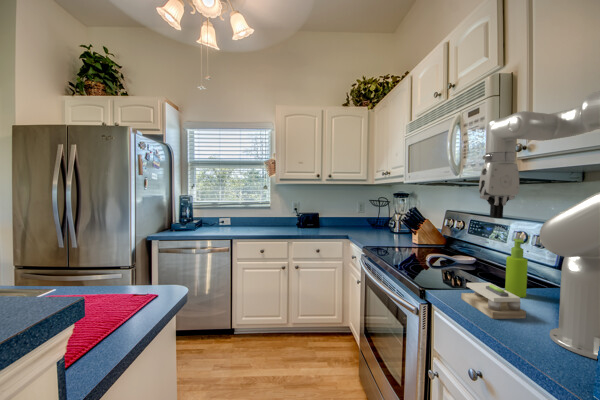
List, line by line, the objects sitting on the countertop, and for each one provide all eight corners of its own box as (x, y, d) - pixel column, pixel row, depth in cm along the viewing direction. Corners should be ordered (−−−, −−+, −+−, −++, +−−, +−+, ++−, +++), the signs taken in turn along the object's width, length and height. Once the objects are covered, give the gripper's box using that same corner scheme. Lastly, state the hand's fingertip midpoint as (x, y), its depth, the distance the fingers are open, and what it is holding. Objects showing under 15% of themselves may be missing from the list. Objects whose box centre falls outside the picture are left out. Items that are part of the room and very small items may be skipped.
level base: (525, 318, 78) (526, 303, 78) (492, 318, 78) (493, 303, 78) (489, 298, 92) (490, 285, 92) (461, 298, 92) (461, 286, 91)
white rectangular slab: (520, 301, 79) (520, 292, 79) (493, 301, 79) (494, 292, 78) (489, 286, 91) (489, 277, 91) (466, 286, 91) (466, 278, 90)
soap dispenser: (507, 296, 94) (509, 239, 93) (503, 290, 100) (505, 236, 99) (529, 300, 91) (531, 241, 90) (523, 293, 97) (526, 238, 97)
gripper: (486, 157, 80) (482, 219, 81) (533, 158, 81) (529, 219, 82) (468, 160, 87) (465, 216, 88) (511, 160, 88) (508, 216, 89)
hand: (496, 217), depth 85 cm, fingers closed
